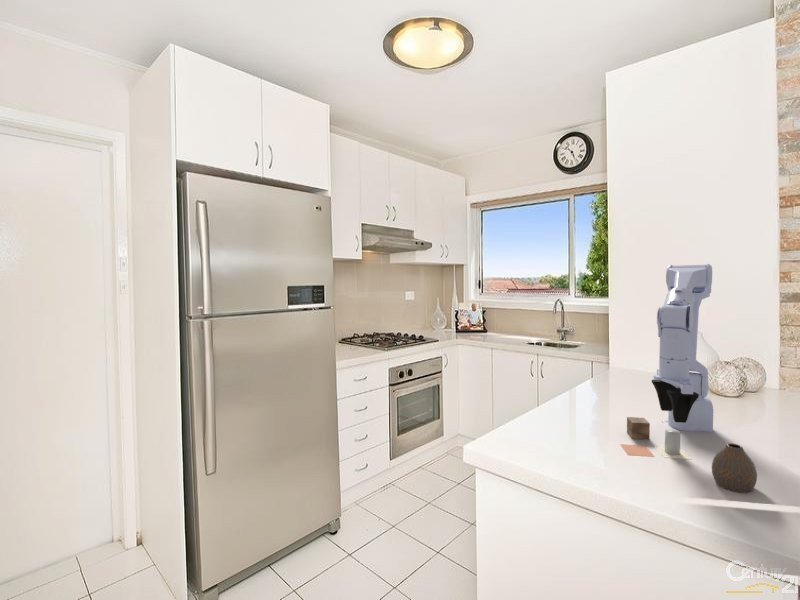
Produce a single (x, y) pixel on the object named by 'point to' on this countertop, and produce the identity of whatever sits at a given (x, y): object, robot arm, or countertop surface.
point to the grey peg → (672, 441)
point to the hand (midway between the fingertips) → (673, 416)
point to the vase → (734, 469)
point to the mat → (644, 451)
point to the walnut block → (638, 428)
